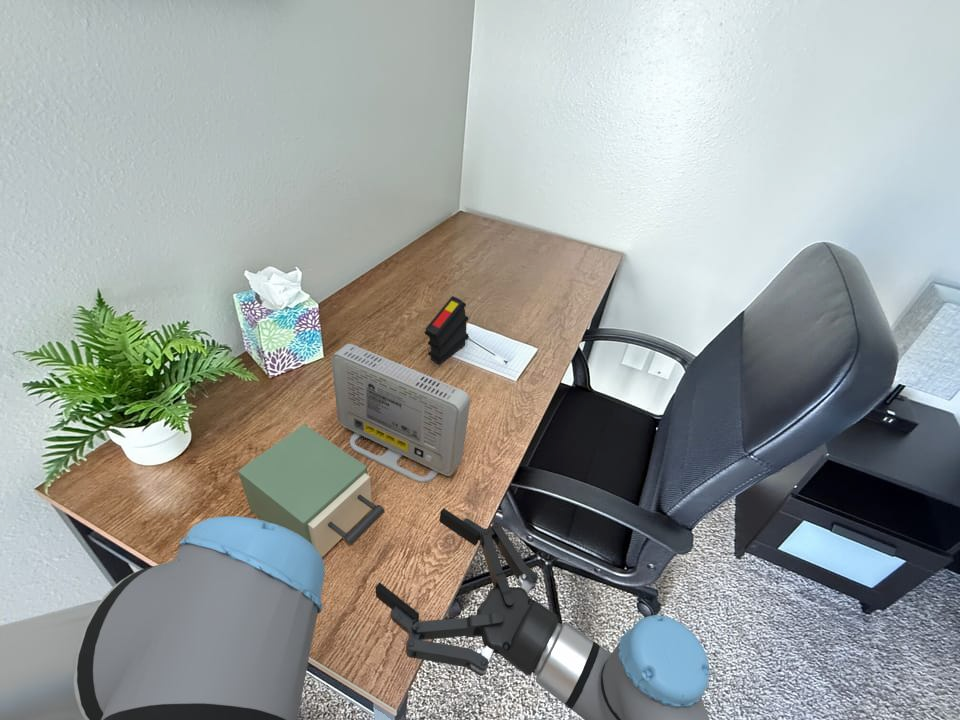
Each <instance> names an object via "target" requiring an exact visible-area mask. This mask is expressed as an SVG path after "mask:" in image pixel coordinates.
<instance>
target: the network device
mask: <svg viewBox="0 0 960 720" xmlns="http://www.w3.org/2000/svg"><path fill="white" fill-rule="evenodd" d="M330 360H331V369H332V378H333V379H332V380H333V386H334V387H333V389H334V396H335V404H336V405H335V406H336V414H337V415H336V416H337V420H338V422H339V424H340V425H341V426H342V427H344V428H346V429H347V430H350V431H352V432H353V434H352V435H351V436H350V440H349V445H350V448H351V450H352V451H353V452H354V453H357V454H359V455H361V456H363V457H365V458H367V459H369V460H371V461H373V462H375V463H377V464H379V465H381V466H383V467H385V468H387V469H389V470H391V471H393V472H395V473H397V474H400V475H402V476H403V477H406V478H408V479H410V481H413V482H416V483H421V484H424V483H429V482H431V481H433V480H434V479H436V477H437V475H438V474H441V475H444V476H447V477H450V476H452V475H453V474H454V472H455V471H456V469H457V468H458V466H459V465H460V464H461V462H462V461H463V456H464V448H465V442H466V436H467V428H468V420H469V413H470V407H471V406H470V404H471V396H470V395H469V394H468V393H467V392H466V391H464V390H463V389H461V388H458V387H456V386H454V385H451V384H448V383H446V382H444V381H441V380H439V379H437V378H434V377H432V376H429V375H427V374H425V373H423V372H420V371H418V370H415V369H412V368H410V367H407V366H405V365H403V364H401V363H398V362H396V361H393V360H392V359H391V360H390V359H388V358H386V357H383V356H381V355H379V354H376V353H374V352H372V351H369V350H367V349H364V348H362V347H359V346H357V345H355V344H352V343H346V344H345V345H344V346H343V347H341V348H339V349H338V350H337V351H336V352H334V354H332V355H331V357H330ZM361 437H364V438H367V439H369V440H370V441H373V442H375V443H377V444H379V445H381V446H383V447H384V448H387V450H386V451H385V453H383V454H381V455H378V454H375V453H373V452H371V451H370V450H369V451H368V450H366V449H364V448H363V447H360V446H358V445H357V444H356V442H358V440H359V439H360V438H361ZM403 456H404V457H406V458H408V459H410V460H412V461H415V462H417V463H418V464H421V465H423V466H425V467H427V468H429V469H431V470H430V471H429V473H428V474H427V475H425V476H420V475H418V474H416V473H414V472H412V471H410V470H408V469H406V468H404V467H401V466H399V464H398V462H399V461H400V460H401V459H402V457H403Z"/></svg>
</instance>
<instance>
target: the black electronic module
mask: <svg viewBox="0 0 960 720" xmlns="http://www.w3.org/2000/svg"><path fill="white" fill-rule="evenodd" d="M466 306H467V304H466V302H464V301H463V300H462V299H460V298H458V297H456V296H454V295H451V297H450V298H449V299H448V300H447V302H446V303H444V305H443V306H442V308H441V309H440V310H439V312H437V314H436V315H435V316H434V318H433V319H432V320H431V321H430V322H429V324H427V326H426V327H425V331H424V335H425V336H428V338H429V340H428V342H427V345H429V346H430V350H429V351H428V353H427V354H428V356H430V360H431V361H433V362H434V363H436V364H438V365H441V364H442V363H444V362H445V361H446V360H448V359H449V358H451V357H452V356H453V355H454V354H456V353H458V351H459V350H461V349H462V348H464V347H465V346H466V342H467V340H468V338H469V333H467V322H468V321H469V316H467V315H466V314H467V313H466Z"/></svg>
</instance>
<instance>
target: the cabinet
mask: <svg viewBox="0 0 960 720" xmlns="http://www.w3.org/2000/svg"><path fill="white" fill-rule="evenodd" d="M364 473H366V474H367V475H369V474H368V466H366V465H365V464H364V463H362V462H361V461H359V460H358V459H356V458H355V457H353V456H352V455H350V454H349V453H347V452H346V451H345V450H343V449H342V448H340V447H338V445H336V444H335V443H333V442H332V441H330V440H329V439H327V438H325V437H324V436H323V435H321V434H320V433H319V432H317V431H315V430H313V429H312V428H311V427H309V426H308V425H307V424H304V423H303V424H302V425H301V426H299V427H298V428H297V429H295V430H294V431H292V432H291V433H289V434H288V435H287V436H284V438H282V439H281V440H279V441H278V442H277V443H275V444H273V445H272V446H271V447H270V448H268V449H266V450H265V451H264V452H262V453H261V454H260V455H258V456H256V457H255V458H254V459H253V460H251V461H250V462H248V463H247V464H245V465H244V466H243V467H241V468H240V469H238V470H237V474H238V477H239V479H240V483H241V486H242V489H243V491H244V492H243V493H244V495H245V497H246V501H247V503H248V506H249V509H250V512H252V513H253V514H254V515H255V516H256V517H258V519H259V520H263V521H266V522H269V523H273V524H277V525H279V526H282V527H285V528H287V529H289V530H291V531H293V532H295V533H297V534H299V535H300V536H302V537H303V538H305V539H306V540H308V541H309V542H310V543H311V544H312V542H311V537H310V533H309V528H308V522H309V521H310V520H312V519H313V518H314V517H315V516H316V515H317V514H318V513H319V512H321V511H322V510H323V509H324V508H325V507H326V506H327V505H328V504H330V503H331V502H332V501H333V500H334V499H335V498H336V497H337V496H339V495H340V494H341V493H342V492H343V491H344V490H345V489H346V488H347V487H349V486H350V485H351V484H352V483H353V482H354V481H355V480H357V479H358V478H360V477H361V476H362V475H363V474H364Z"/></svg>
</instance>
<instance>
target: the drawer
mask: <svg viewBox="0 0 960 720" xmlns="http://www.w3.org/2000/svg"><path fill="white" fill-rule="evenodd" d="M372 500H373V499H372V484H371V476H370V475H369V474H368V475H367V474H366V473H364V474H363V475H362V476H361V477H360V478H358V479H357V480H355V481H354V482H353V483H352V484H351V485H350V486H349V487H347V488H346V489H345V490H344V491H343V492H342V493H341V494H340V495H339V496H337V497H336V498H335V499H334V500H333V501H332V502H331V503H330V504H328V505H327V506H326V507H325V508H324V509H323V510H322V511H321V512H319V513H318V514H317V515H316V516H315V517H314V518H313V519H312V520H310V521H309V522H308V528H309V533H310V537H311V542H312V545H313V546H314V547H315V548H316V549H317V551H318V552H319V553H320V555H321V557H322V558H323V557H324V556H326V554H327V553H329V552H330V551H331V550H332V549H333V548H334V547H335V546H336V545H337V543H338V542H340V540H342V539H343V541H344V543H345V544H346V545H347V546H348V547H352V546H353V545H354V544H355V543H356V542H357V541H358V540H359V539H360V538H361V537H362V536H363V535H364V534H366V532H367V531H368V530H369V529H370V528H371V527H372V526H373V525H374V524H375V523H376V522H377V521H378V520H379V518H381V517H382V516H383V515H384V513H385V512H386V511H385V508H384V507H383V506H382V505H381V504H375V503H373V501H372Z"/></svg>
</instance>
